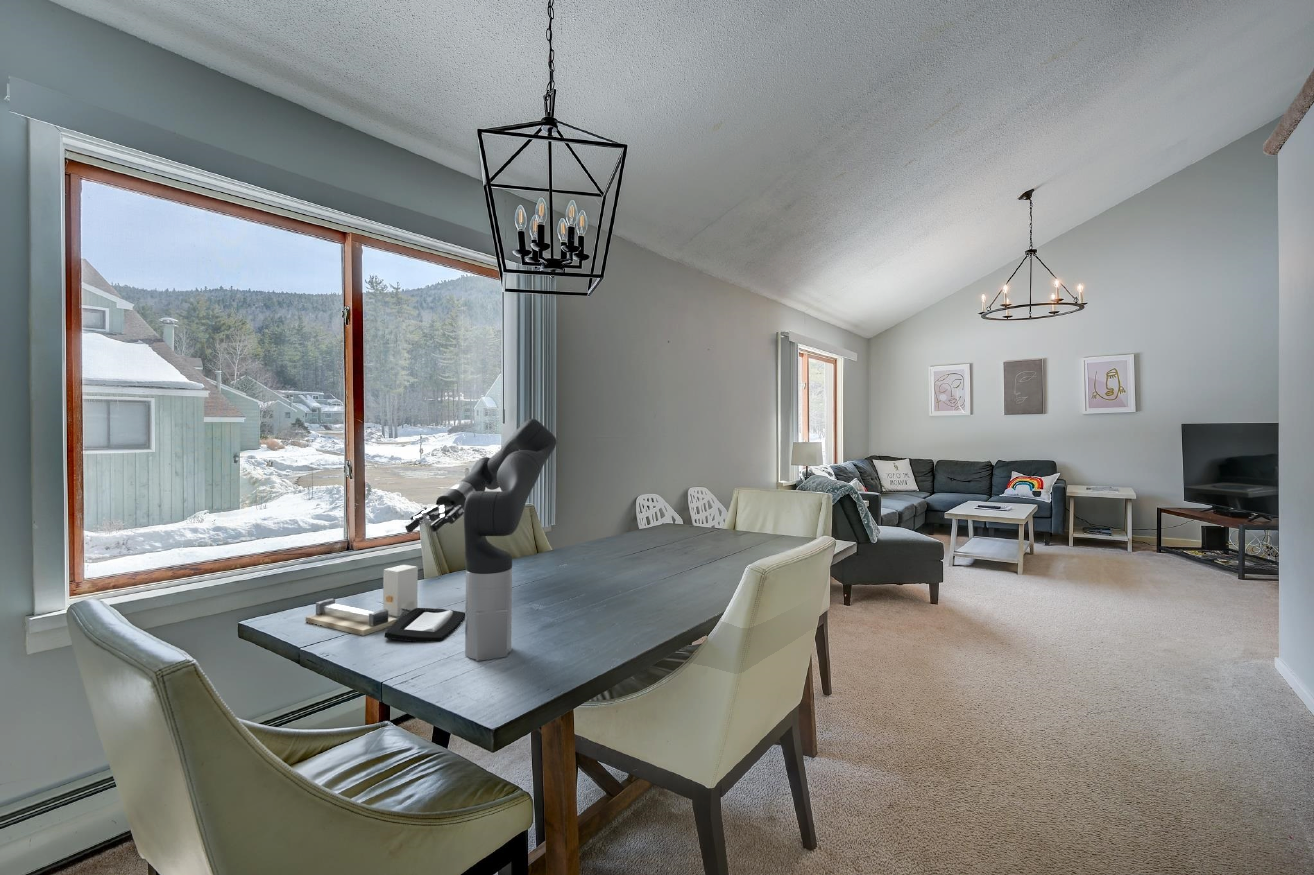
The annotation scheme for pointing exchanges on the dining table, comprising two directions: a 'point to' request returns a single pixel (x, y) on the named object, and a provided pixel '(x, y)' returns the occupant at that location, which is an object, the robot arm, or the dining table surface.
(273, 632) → the dining table surface
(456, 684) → the dining table surface
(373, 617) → the rail
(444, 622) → the light switch
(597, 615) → the dining table surface
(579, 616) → the dining table surface
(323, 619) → the mounting board
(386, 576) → the block
